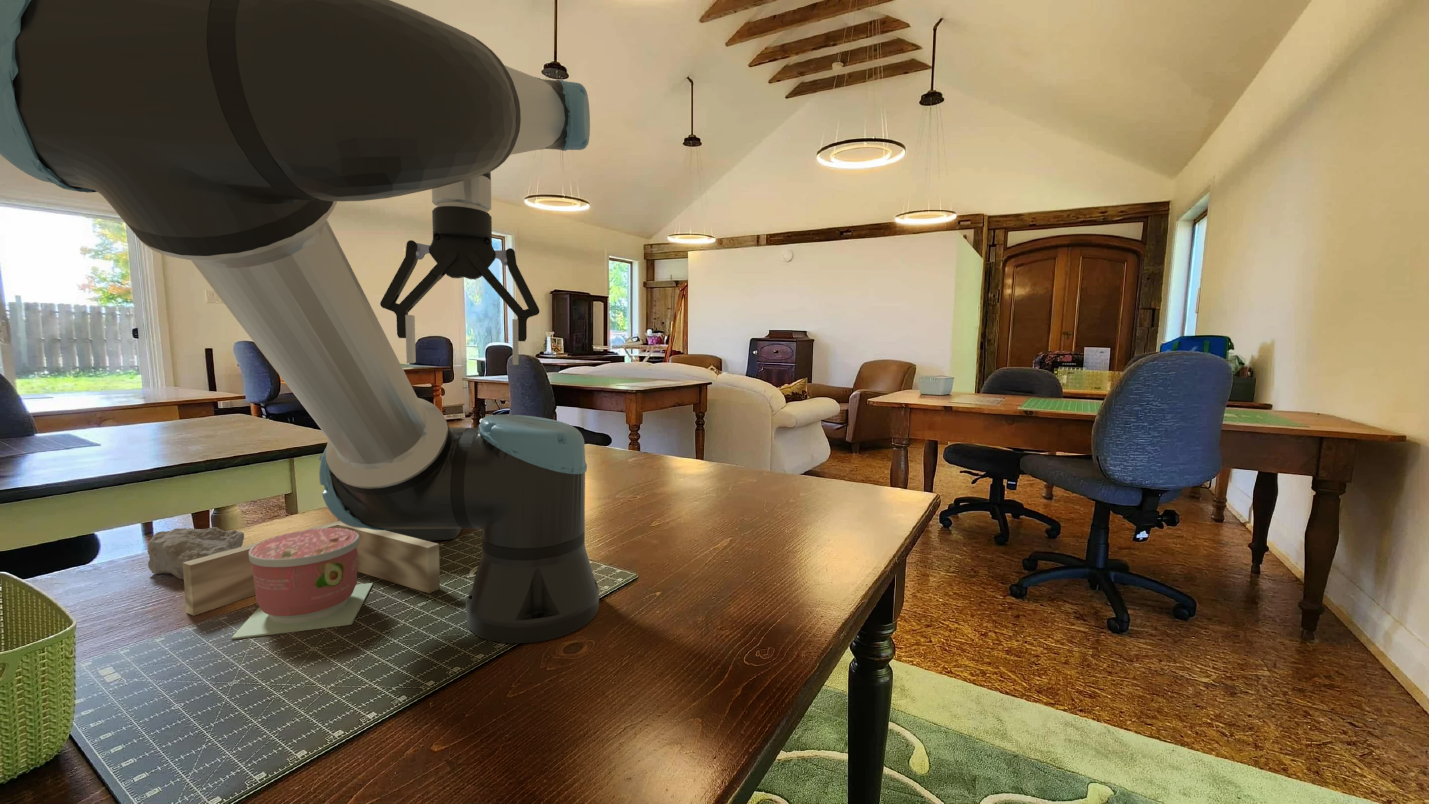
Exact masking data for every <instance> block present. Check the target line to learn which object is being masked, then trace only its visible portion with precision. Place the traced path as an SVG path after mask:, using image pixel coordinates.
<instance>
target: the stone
mask: <svg viewBox="0 0 1429 804" xmlns="http://www.w3.org/2000/svg"><path fill="white" fill-rule="evenodd" d="M244 540H245V534H244V532H243V531H238V530H236V529H231V530H223V529H220V528H219V527H217V526H213V527H208V528H202V529H200V528H199V529H198V528H191V527H189V528H182V527H181V528H174V529H172V530H171V529H170V530H167V531H166V530H165V531H164V530H163V531H158V532H156V533H155V534H153V536H152V537H151V538H150V540H149V542H148V543H147V554H148V555H149V560H148V562H147V566H148V569H149V571H151V574H155V575H157V574H158V575H160V574H167V575H169V574H172V575H173V576H175V578H177V579H179V580H184V574H183V562H187V561H191V560H194V559H198V558H202V557H205V556H209V555H213V554H217V553H220V552H224V551H228V550H231V549H235V548H239V547H243V543H244Z"/></svg>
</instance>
